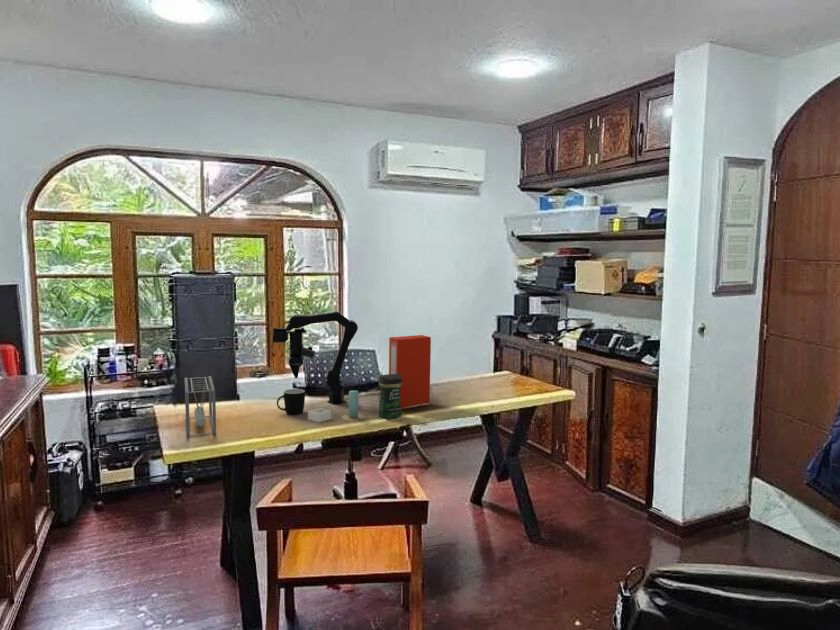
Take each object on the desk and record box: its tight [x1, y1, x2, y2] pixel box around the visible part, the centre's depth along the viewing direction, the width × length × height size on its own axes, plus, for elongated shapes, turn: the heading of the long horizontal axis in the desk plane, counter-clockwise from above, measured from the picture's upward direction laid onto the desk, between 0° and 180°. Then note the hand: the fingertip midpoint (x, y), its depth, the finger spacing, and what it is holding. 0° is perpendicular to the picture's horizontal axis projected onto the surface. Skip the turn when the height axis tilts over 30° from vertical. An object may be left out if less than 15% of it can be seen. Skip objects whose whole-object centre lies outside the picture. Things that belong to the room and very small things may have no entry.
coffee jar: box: [377, 373, 402, 420], centre depth 250 cm, size 10×8×19 cm
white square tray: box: [307, 407, 332, 423], centre depth 245 cm, size 7×7×4 cm
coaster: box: [341, 413, 366, 422], centre depth 248 cm, size 10×10×1 cm
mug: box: [276, 388, 306, 416], centre depth 253 cm, size 12×9×10 cm
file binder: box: [388, 334, 432, 408], centre depth 267 cm, size 8×17×32 cm, turn 121°
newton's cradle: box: [184, 375, 217, 438], centre depth 233 cm, size 30×10×18 cm, turn 22°
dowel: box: [348, 389, 359, 418], centre depth 247 cm, size 4×4×11 cm
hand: (296, 376), depth 269 cm, fingers open, 9 cm apart
